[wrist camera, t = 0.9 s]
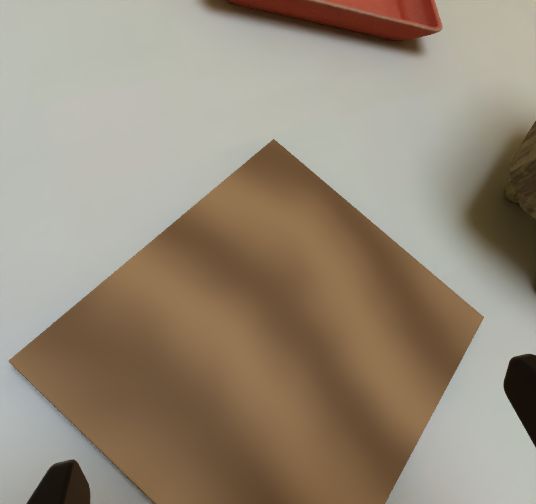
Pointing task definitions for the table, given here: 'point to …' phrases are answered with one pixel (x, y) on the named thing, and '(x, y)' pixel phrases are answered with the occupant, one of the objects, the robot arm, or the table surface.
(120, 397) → the walnut board
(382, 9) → the plant saucer
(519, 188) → the tabletop clock
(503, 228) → the table surface
